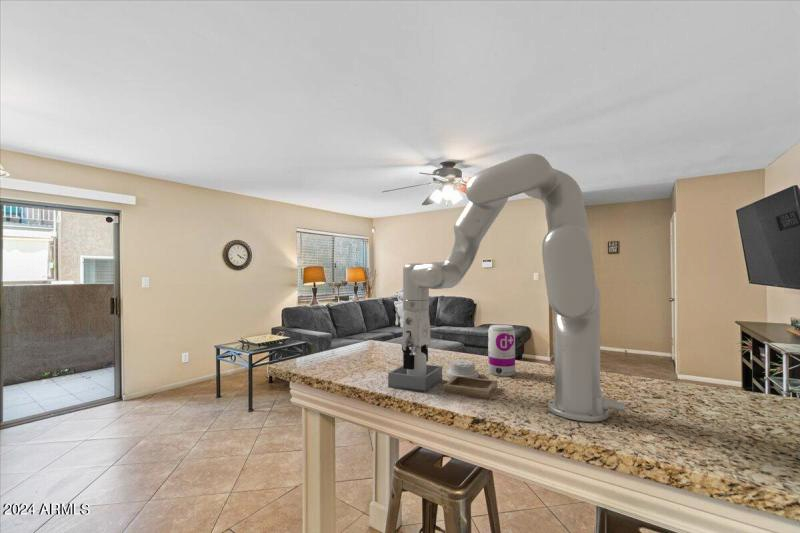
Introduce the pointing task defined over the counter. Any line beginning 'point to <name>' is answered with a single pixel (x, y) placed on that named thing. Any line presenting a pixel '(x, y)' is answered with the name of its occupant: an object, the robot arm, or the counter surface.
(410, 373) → the eye dropper bottle
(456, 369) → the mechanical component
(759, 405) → the counter surface
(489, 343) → the supplement can
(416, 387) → the bin
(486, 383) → the shallow brown tray
